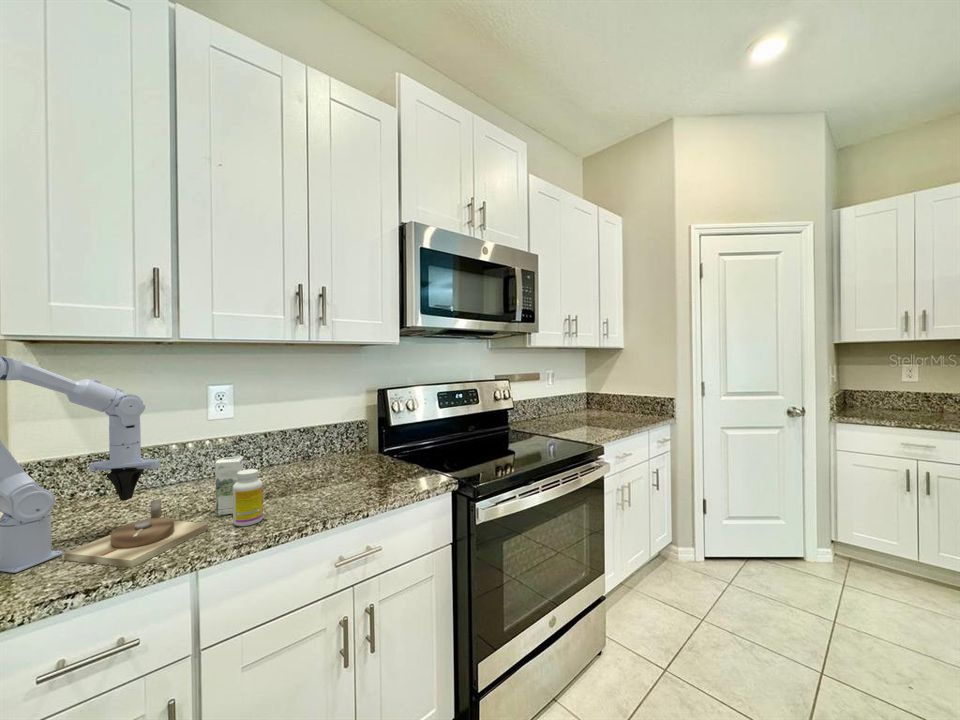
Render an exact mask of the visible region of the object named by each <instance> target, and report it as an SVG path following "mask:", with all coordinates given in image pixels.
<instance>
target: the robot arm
mask: <svg viewBox="0 0 960 720" xmlns="http://www.w3.org/2000/svg"><path fill="white" fill-rule="evenodd" d="M0 381H21V382H24V383H28V384H31V385H35V386H38V387H41V388H45V389H48V390H51V391H54V392H55V391H56V392H57V393H62V394H63V395H64V394H65V395H66V397H67V399H68V401H69V402H70V403H72V404H75V405H77V406H78V405H79V406H81V407H85V408H88V409H90V410H95V411H98V412H102V413H105V415H106V416H108V423H109V424H108V436H109V437H108V441H109V442H108V443H109V444H108V447H109V460H104V461H101V460H99V461H94V462H91V463H89V465H88V466H89V472H90V473H91V472H96V471H97V472H99V471H110V472H109V473H106V477H107V479H108V480H109V481H110V482H111V484H112V485H113V487H114V488H115V490H116V492H117V495H118V498H119V501H121V502H123V501H124V502H125V501H128V500H130V499H133V495H134V492H135V490H136V489H135V488H136V485H137V484H138V481H139V479H140V477H141V475H142V474H143V472H144V471H145V469H147V470H148V469H151V470H157V469H159V468H161V467H162V463H161V459H157V458H156V459H154V458H153V459H152V458H142V452H141V451H142V450H141V449H142V445H141V444H142V443H141V442H142V441H141V440H142V439H141V438H142V437H141V436H142V435H141V415H142V414H143V413H144V412H145V410H146V404H145V403H144V401H143V399H141V397H139V396H138V395H137V394H132V393H131V394H129V393H124V389H123V388H119V387H117V388H114V387H111V386H107V385H104V384H102V383H101V382H102V381H101V380H99V379H97V378H92V379H89V378H84V379H80V380H74V379H70V378H68V377H65V376H63V375H61V374H58V373H55V372H53V371H50V370H47V369H44V368H42V367H40V366H37V365H35V364H32V363H30V362H27V361H23V360H21V359H18V358H17V359H16V358H14V357H10V356H6V355H0ZM55 503H56V498H55V495H54V493H53V492H52V491H50V490H48V489H45V488H43V487H41V486H39V485H38V483H37V482H36V480H35V479H33V478H32V477H31V476H30V475H29V474H28V473H27V472H26V471H25V470H24V469H23V467H22V466H21V465H20V463H19V462H18V461H17V460H16V459H15V457H14V456H13V455H12V452H11V451H10V449H8V448H7V447H6V445H5V443H4V442H3V441H2V439H0V512H1V513H3V514H2V515H1V516H0V572H6V573H13V574H15V573H18V572H22V571H23V570H26V569H30V568H31V567H34V566H36V565H40V564H41V563H44V562H46V561H49V560H51V559H54V558H57V557H59V556H62V555H63V554H64V551H61V550H53V549H52V548H53V547H52V546H53V545H52V511H51V510H52V509H53V508H54V506H55Z"/></svg>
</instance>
